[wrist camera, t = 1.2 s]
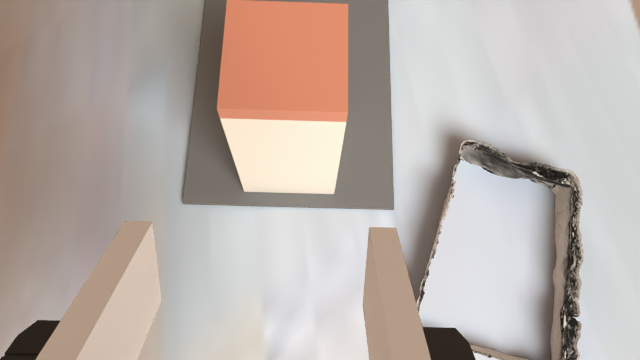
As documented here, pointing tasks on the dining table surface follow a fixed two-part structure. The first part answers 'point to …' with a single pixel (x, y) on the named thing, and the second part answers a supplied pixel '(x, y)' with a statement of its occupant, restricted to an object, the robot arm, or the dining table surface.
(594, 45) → the dining table surface
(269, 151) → the off-white block
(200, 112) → the charcoal mat
